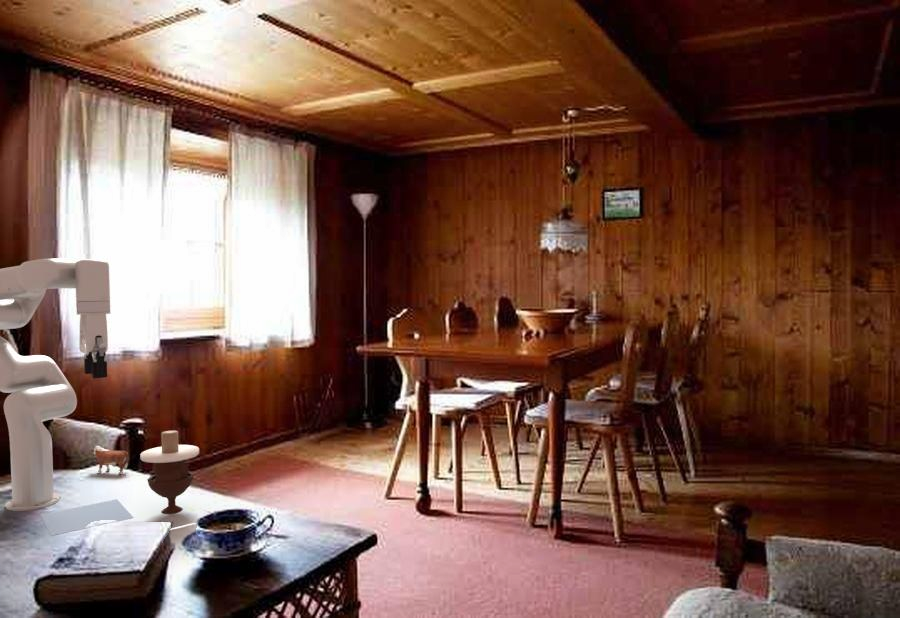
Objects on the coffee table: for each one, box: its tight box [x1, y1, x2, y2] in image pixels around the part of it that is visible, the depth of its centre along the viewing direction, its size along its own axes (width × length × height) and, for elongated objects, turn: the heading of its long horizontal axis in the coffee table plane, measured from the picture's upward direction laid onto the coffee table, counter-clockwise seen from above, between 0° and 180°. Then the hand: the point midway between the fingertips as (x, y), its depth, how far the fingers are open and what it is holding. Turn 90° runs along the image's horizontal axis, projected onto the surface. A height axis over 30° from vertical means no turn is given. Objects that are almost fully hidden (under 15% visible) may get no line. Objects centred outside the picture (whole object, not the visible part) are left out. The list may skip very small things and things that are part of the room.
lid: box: [139, 430, 200, 464], centre depth 169 cm, size 14×14×6 cm
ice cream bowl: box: [147, 460, 195, 515], centre depth 169 cm, size 11×11×15 cm
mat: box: [39, 498, 134, 537], centre depth 166 cm, size 18×18×1 cm
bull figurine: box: [90, 445, 129, 475], centre depth 205 cm, size 4×13×8 cm, turn 73°
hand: (95, 375), depth 165 cm, fingers open, 9 cm apart
